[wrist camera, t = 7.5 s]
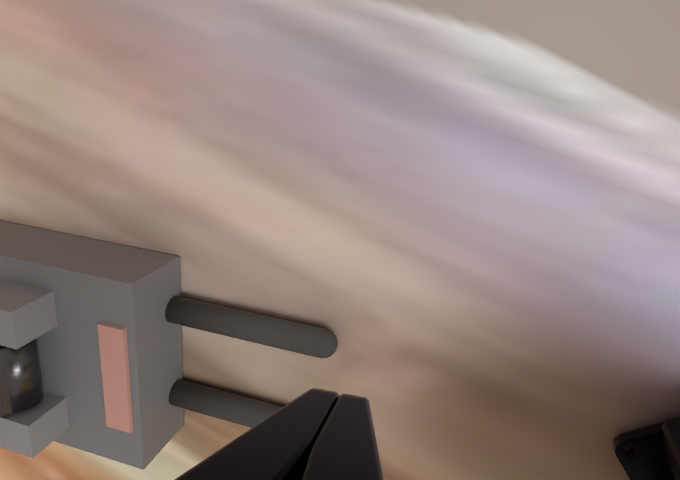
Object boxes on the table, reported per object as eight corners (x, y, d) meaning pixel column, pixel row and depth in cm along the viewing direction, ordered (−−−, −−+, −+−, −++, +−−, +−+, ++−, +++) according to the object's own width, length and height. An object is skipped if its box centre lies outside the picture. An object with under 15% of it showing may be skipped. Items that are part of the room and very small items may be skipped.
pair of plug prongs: (342, 326, 21) (333, 340, 20) (332, 436, 23) (323, 454, 22) (168, 288, 23) (152, 299, 22) (172, 392, 25) (157, 407, 24)
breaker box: (179, 256, 23) (94, 306, 18) (184, 423, 26) (112, 504, 21) (-2, 220, 25) (-120, 255, 20) (22, 377, 28) (-75, 439, 23)
